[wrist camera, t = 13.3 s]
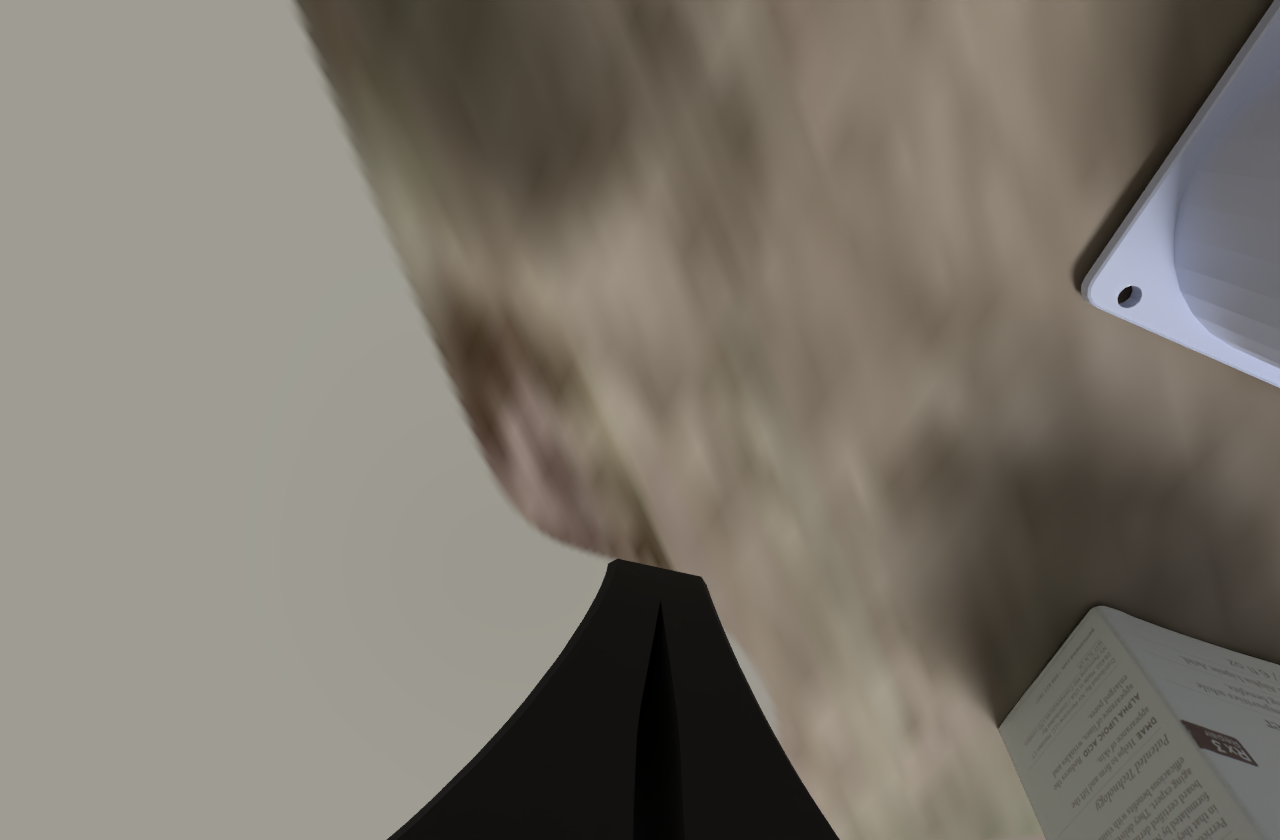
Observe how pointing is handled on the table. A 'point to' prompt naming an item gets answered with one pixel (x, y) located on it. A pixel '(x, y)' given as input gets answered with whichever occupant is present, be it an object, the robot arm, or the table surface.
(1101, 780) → the skincare box
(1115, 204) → the table surface
